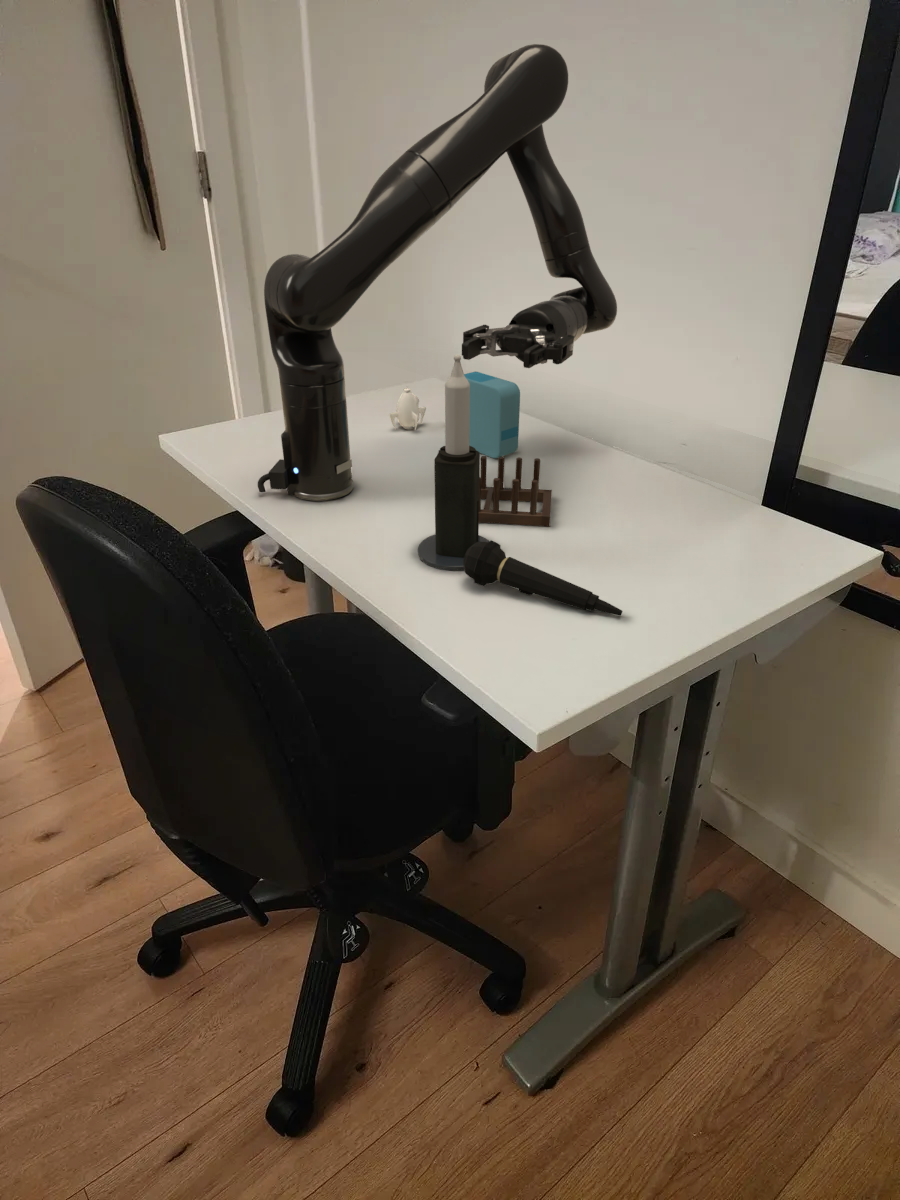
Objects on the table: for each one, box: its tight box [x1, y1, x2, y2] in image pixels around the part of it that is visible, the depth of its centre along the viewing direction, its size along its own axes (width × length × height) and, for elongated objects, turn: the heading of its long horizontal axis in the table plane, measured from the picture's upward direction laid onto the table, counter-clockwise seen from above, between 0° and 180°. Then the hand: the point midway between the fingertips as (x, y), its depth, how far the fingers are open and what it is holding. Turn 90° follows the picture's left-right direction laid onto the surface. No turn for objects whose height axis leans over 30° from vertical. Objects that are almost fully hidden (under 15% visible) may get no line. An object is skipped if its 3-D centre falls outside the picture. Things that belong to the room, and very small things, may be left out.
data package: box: [464, 371, 521, 459], centre depth 135 cm, size 12×4×12 cm, turn 41°
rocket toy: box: [388, 387, 427, 431], centre depth 146 cm, size 5×5×8 cm
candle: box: [433, 353, 481, 558], centre depth 98 cm, size 5×5×25 cm
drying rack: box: [479, 455, 553, 528], centre depth 115 cm, size 14×9×6 cm
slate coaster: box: [417, 534, 490, 572], centre depth 105 cm, size 10×10×1 cm
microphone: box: [463, 539, 623, 617], centre depth 94 cm, size 6×6×20 cm
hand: (495, 355), depth 102 cm, fingers open, 8 cm apart
